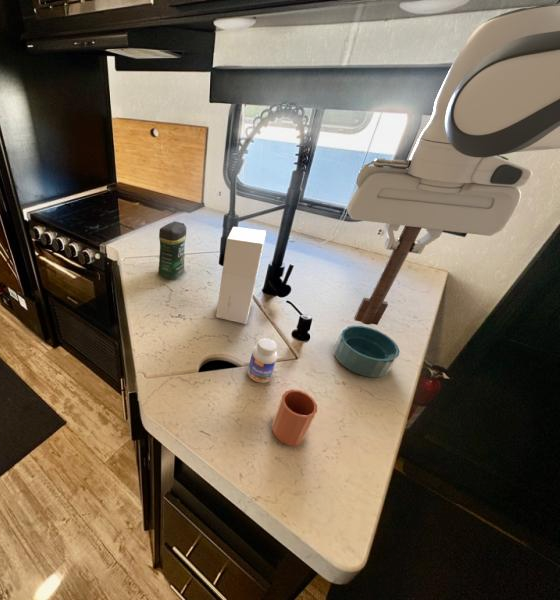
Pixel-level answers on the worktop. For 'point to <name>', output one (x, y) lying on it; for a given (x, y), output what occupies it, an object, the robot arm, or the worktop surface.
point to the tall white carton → (239, 273)
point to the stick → (386, 279)
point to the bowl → (366, 351)
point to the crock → (294, 417)
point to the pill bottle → (263, 360)
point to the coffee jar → (172, 250)
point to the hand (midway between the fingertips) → (401, 250)
